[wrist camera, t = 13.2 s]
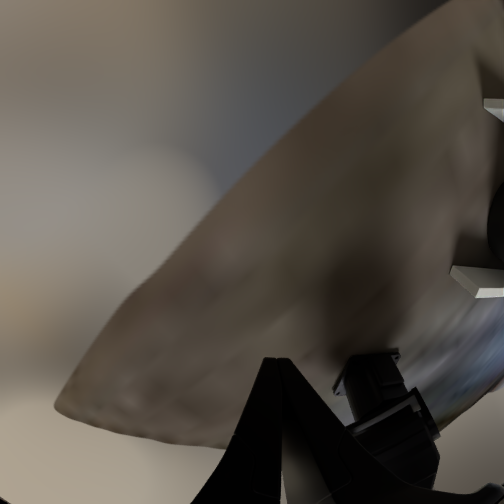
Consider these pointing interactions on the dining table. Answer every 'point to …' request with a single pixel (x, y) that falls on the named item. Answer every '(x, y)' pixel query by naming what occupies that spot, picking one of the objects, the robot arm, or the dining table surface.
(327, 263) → the dining table surface
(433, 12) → the dining table surface
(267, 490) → the robot arm
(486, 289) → the tray
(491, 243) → the mug
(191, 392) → the dining table surface
